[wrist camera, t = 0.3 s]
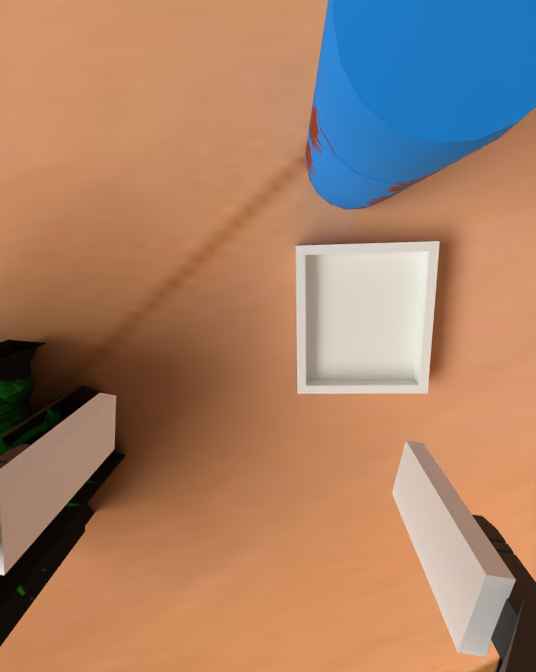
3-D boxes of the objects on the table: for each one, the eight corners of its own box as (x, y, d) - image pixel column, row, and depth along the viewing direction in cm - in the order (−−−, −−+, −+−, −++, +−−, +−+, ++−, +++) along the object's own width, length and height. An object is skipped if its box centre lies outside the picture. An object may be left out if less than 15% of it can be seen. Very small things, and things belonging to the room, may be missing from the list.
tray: (295, 246, 41) (295, 245, 38) (428, 241, 40) (439, 241, 37) (297, 384, 45) (297, 393, 42) (418, 383, 44) (427, 393, 41)
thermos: (295, 117, 38) (305, -120, 14) (397, 89, 37) (605, -225, 12) (315, 221, 40) (353, 176, 16) (411, 198, 39) (610, 111, 15)
